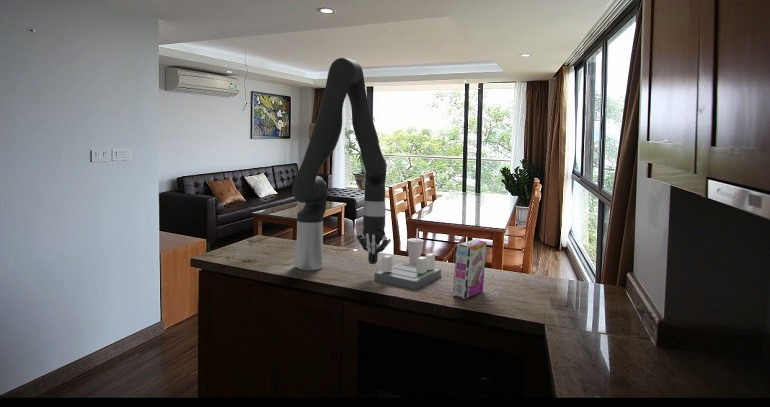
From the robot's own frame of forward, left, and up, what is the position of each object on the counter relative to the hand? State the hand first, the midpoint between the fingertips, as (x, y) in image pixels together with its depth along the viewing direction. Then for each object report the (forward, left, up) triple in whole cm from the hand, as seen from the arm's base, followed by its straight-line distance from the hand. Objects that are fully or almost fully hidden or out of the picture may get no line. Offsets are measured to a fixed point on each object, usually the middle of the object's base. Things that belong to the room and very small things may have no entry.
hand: (372, 263), depth 162 cm
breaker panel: (+11, +6, -4) cm, 13 cm away
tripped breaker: (+6, 0, -2) cm, 6 cm away
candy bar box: (+34, +3, -5) cm, 35 cm away
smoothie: (+4, +23, -5) cm, 24 cm away
